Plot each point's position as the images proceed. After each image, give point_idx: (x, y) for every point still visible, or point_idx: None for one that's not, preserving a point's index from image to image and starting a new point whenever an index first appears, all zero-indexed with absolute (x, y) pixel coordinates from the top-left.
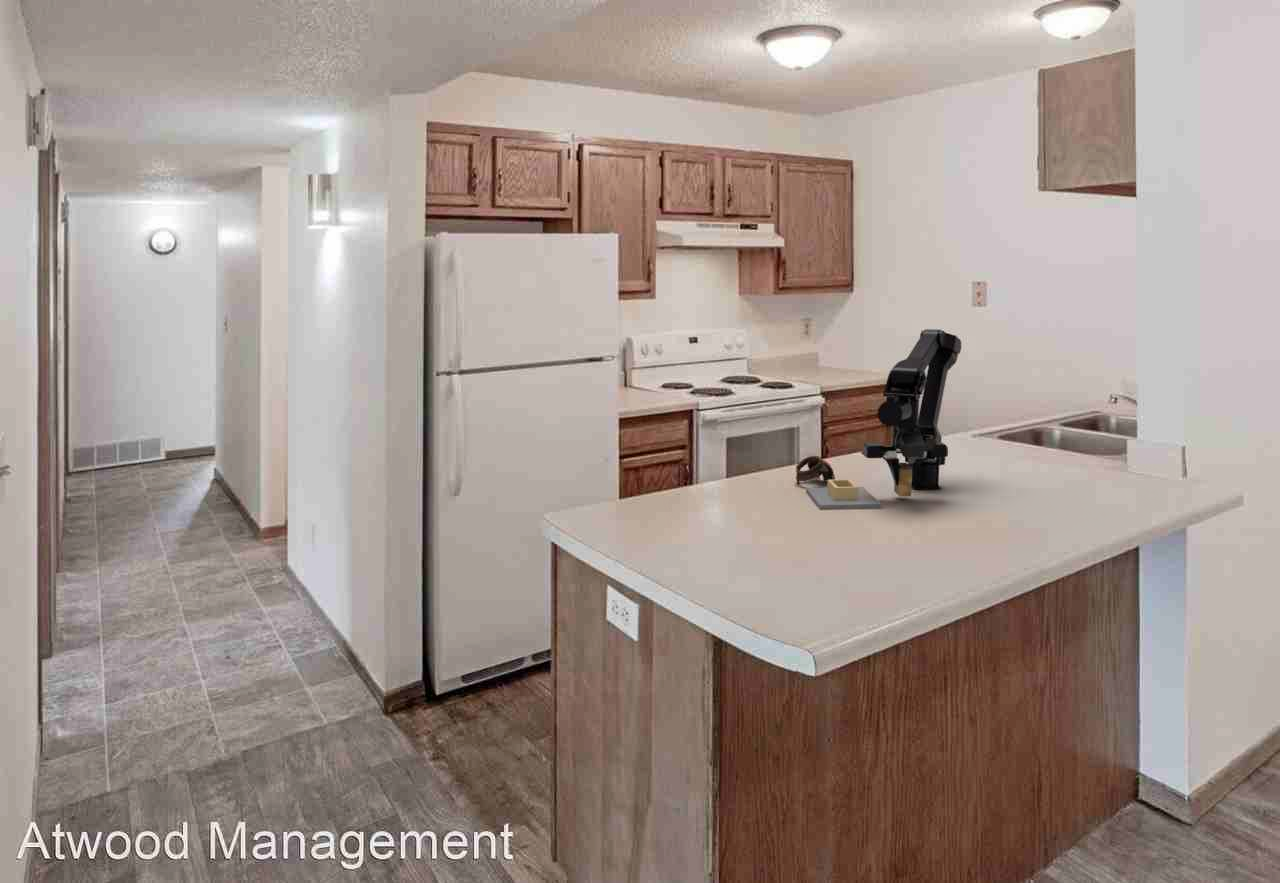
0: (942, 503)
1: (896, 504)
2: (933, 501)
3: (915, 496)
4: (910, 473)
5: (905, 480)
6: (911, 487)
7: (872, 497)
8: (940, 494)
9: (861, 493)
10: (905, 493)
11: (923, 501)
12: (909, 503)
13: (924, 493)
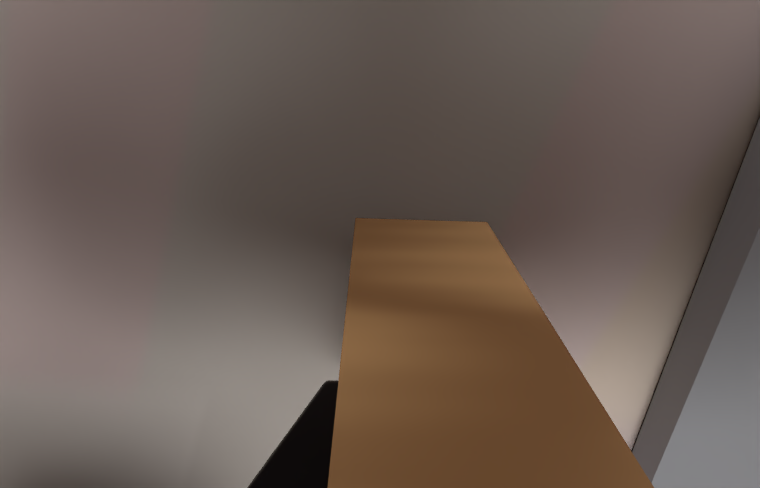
0: (16, 118)
1: (541, 134)
2: (109, 209)
3: (249, 384)
4: (375, 484)
5: (474, 350)
6: (350, 272)
7: (756, 282)
8: (18, 418)
9: (755, 420)
10: (430, 237)
11: (215, 220)
12: (385, 159)
13: (152, 452)
